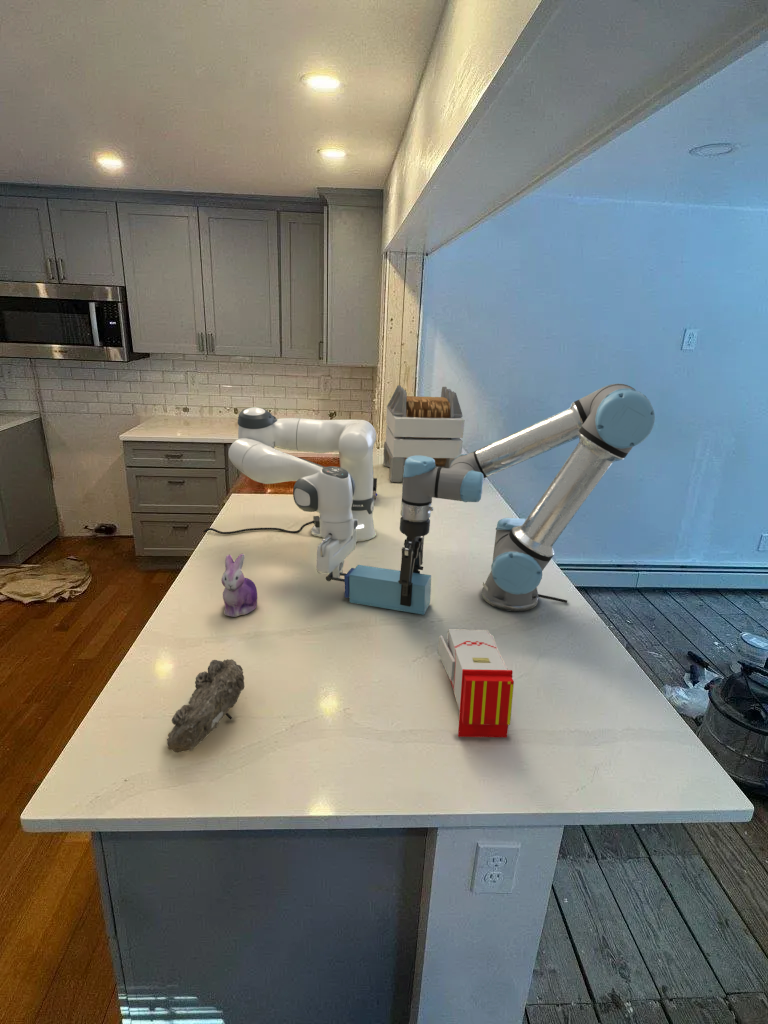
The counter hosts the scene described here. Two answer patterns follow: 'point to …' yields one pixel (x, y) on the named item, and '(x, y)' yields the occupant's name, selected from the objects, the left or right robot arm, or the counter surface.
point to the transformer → (422, 430)
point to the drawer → (345, 580)
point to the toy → (478, 682)
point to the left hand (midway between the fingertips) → (337, 576)
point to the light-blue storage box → (388, 589)
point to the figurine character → (374, 487)
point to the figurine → (237, 589)
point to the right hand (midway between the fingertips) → (409, 598)
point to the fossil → (206, 705)
